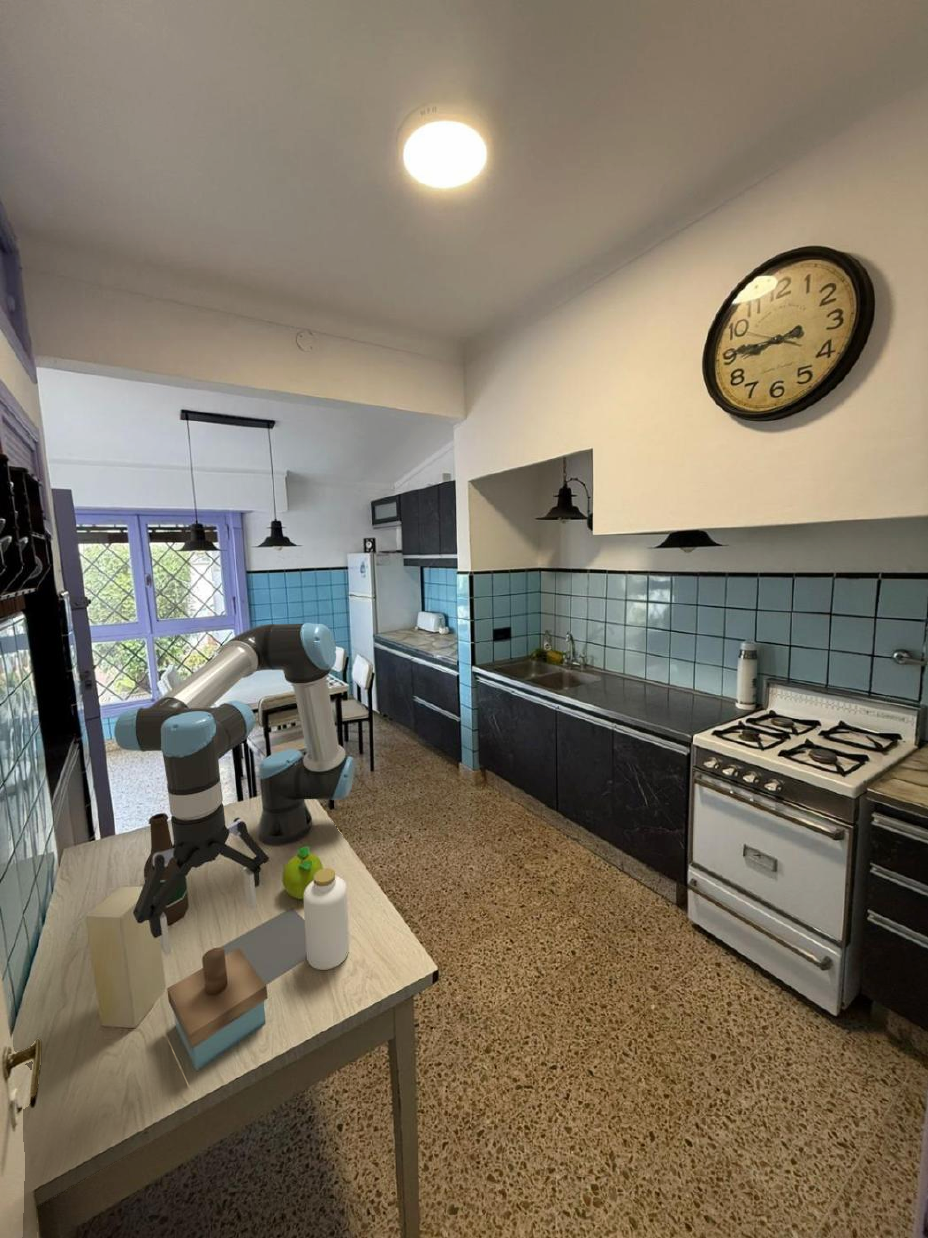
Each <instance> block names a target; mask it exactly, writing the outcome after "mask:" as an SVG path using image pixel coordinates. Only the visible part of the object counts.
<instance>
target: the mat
mask: <svg viewBox="0 0 928 1238" xmlns="http://www.w3.org/2000/svg"><path fill="white" fill-rule="evenodd" d="M220 948H223V949H224V951H225V955H227V954H228V953H230V952H232V951H234V950H235V949H237V948H239V949H240V950H241V951H242V953H243V954H244V955H245V957H246V958H247V959H248V961H249V962H250V964H251V965H252V966H253V968H254V969H255V970H256V972H257V973H258V975H259V976H260V977H261V979H262V980H263V981H264V983H265V984H266V986H267V985H268V984H270V983H272V982H273V981H274V980H276V979H278V978H279V977H282V976H283V975H284V974H286V973H287V972H289V971H290V970H291V969H293V968H295V967H296V966H298V965H300V964H301V963H303V962H304V961H306V960H307V952H306V934H305V918H303V916H301V914H299V913H298V911H296V909H294V907H290V908H288V909H286V910H285V911H283V912H281V913H279V914H278V915H275V916H274V917H272V918H270V919H268V920H267V921H265V922H262V923H261V924H260V925H258V926H256V927H254V928H252V929H250V930H248V931H247V932H245V933H243V934H241V935H240V936H238V937H235V938H234V939H232V940H230V941H228V942H227V943H225V944H223V945H221V946H220Z"/></svg>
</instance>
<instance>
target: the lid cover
mask: <svg viewBox="0 0 928 1238" xmlns="http://www.w3.org/2000/svg"><path fill="white" fill-rule="evenodd" d="M220 947H221V946H220ZM220 947H213V948H211V949H209V950H208V951H206V952H205V953H204V954H203V955H202V958H201V963H202V968H200V969H198V970H197V971H195V972H193V973H191V974H190V975H187V976H186V977H185V978H183V979H181V980H179V981H177V982H176V983H174V984H172V985H171V986H169V987H167V988H166V990H167V991H166V992H167V1001H168V1003H169V1005H170V1007H171V1009H172V1011H173V1015H174V1014H175V1016H176V1018H177V1020H178V1022H179V1024H180V1026H181V1028H182V1030H183V1032H184V1034H185V1037H186V1039H187V1041H188V1043H189V1045H190V1047H191V1049H193V1048H194V1047H196V1046H197V1045H199V1044H200V1043H202V1042H203V1041H205V1040H206V1039H208V1038H209V1037H211V1036H212V1035H214V1034H215V1033H217V1032H218V1031H220V1030H221V1029H223V1028H224V1027H226V1026H227V1025H229V1024H230V1023H232V1022H233V1021H235V1020H236V1019H238V1018H239V1017H241V1016H242V1015H244V1014H245V1013H247V1012H248V1011H250V1010H251V1009H253V1008H254V1007H256V1006H257V1005H259V1004H260V1003H262V1002H263V1001H264V1002H265V1001H266V1000H268V986H267V985H266V984H265V983H264V981H263V980H262V979H261V977H260V976H259V975H258V973H257V972H256V970H255V969H254V968H253V966H252V965H251V964H250V962H249V961H248V959H247V958H246V957H245V955H244V954H243V953H242V951H241V950H240V949H239V948H237V949H235V950H234V951H232V952H230V953H228V954H227V955H225V951H224V949H223V948H220Z"/></svg>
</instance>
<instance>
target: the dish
mask: <svg viewBox="0 0 928 1238" xmlns="http://www.w3.org/2000/svg"><path fill="white" fill-rule="evenodd" d="M265 1012H266V1011H265V1001H263V1002H262V1003H260V1004H259V1005H257V1006H256V1007H254V1008H253V1009H251V1010H250V1011H248V1012H247V1013H245V1014H244V1015H242V1016H241V1017H239V1018H238V1019H236V1020H235V1021H233V1022H232V1023H230V1024H229V1025H227V1026H226V1027H224V1028H223V1029H221V1030H220V1031H218V1032H217V1033H215V1034H214V1035H212V1036H211V1037H209V1038H208V1039H206V1040H205V1041H203V1042H202V1043H200V1044H199V1045H197V1046H196V1047H194V1048H193V1049H191V1047H190V1045H189V1043H188V1041H187V1039H186V1037H185V1034H184V1032H183V1030H182V1028H181V1026H180V1024H179V1022H178V1020H177V1018H176V1016H175V1014H174V1013H173V1016H174V1024H175V1028H176V1030H177V1032H178V1034H179V1036H180V1038H181V1041H182V1042H183V1046H184V1047H185V1049H186V1051H187V1053H188V1055H189V1058H190V1060H191V1062H192V1064H193V1066H194V1069H195V1070H196V1072H199V1070H201V1069H202V1068H204V1067H206V1066H207V1065H208V1064H209V1063H211V1062H212V1061H214V1060H215V1059H217V1058H219V1056H221V1055H223V1054H224V1053H225V1052H227V1051H228V1050H230V1049H232V1047H234V1046H235V1045H237V1044H238V1043H239V1042H241V1041H242V1040H244V1039H245V1038H246V1037H248V1036H250V1035H251V1034H252V1033H254V1032H255V1031H256V1030H258V1029H259V1028H261V1027H262V1026H264V1025H265V1024H266V1022H267V1021H266V1013H265Z"/></svg>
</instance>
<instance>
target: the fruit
mask: <svg viewBox="0 0 928 1238" xmlns="http://www.w3.org/2000/svg"><path fill="white" fill-rule="evenodd" d="M310 852H311V851H310V846H303V847H300V848H298V850H297V853H298V854H297V855H295V856H294V857H293V858H291V859H289V860H288V861H287V862H286V863H285V865H284V867H283V870H282V877H281V879H282V881H281V882H282V884H283V885H282V886H283V887H284V889H285V890H286V892H287V893H288V894H289V895H290V896H291V897H293V898H295V899H298V900H304V891H305V889H306V887H307V886H308V885H309V884H310V883H311V882H312V881H313V880H314V875H315V873H316V872H317V871H319V870H321V869H324V868H323V863H322V860H321V859H320V858H319V857H318V855H315V854H314V853H310Z"/></svg>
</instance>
